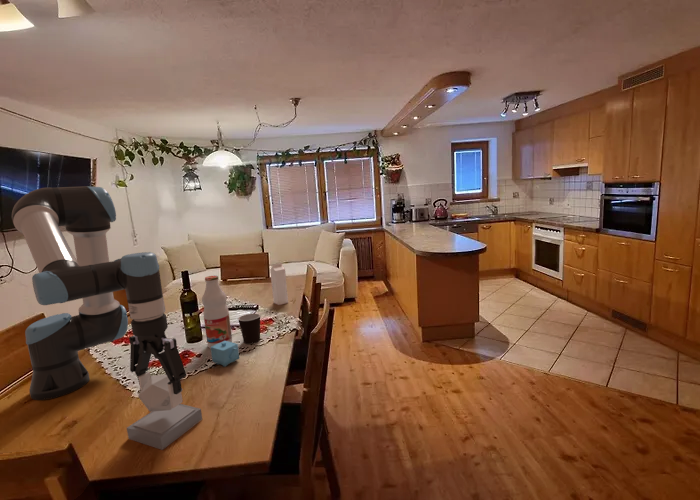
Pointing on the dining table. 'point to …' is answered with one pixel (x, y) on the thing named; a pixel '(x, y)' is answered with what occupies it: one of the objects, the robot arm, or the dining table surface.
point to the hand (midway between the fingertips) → (162, 401)
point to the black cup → (250, 328)
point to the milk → (279, 284)
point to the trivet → (164, 426)
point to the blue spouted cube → (225, 353)
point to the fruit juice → (215, 313)
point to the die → (156, 394)
